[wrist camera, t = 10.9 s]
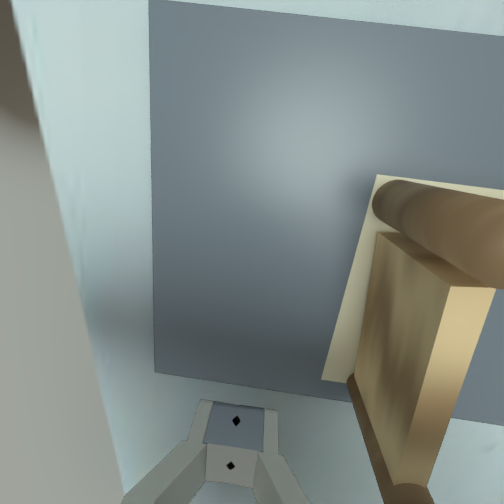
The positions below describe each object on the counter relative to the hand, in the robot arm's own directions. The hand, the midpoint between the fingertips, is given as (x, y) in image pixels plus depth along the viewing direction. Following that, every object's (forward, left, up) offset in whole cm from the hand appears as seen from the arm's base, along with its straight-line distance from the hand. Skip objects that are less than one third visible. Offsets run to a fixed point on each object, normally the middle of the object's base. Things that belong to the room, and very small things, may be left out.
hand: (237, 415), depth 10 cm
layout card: (+5, -5, -6) cm, 9 cm away
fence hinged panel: (+2, -7, -5) cm, 9 cm away
